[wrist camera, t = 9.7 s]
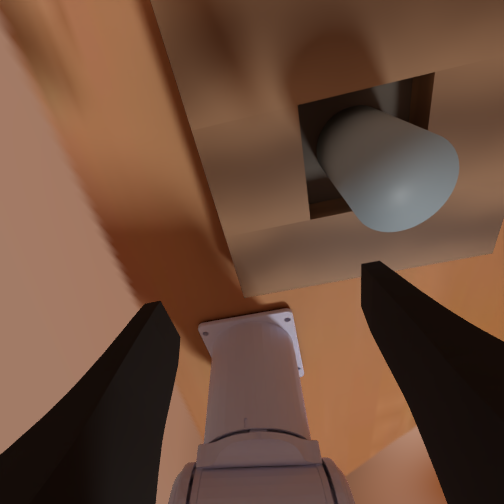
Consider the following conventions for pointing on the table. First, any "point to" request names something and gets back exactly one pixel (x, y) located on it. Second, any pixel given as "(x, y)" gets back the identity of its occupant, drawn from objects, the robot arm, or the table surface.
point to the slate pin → (387, 167)
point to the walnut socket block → (322, 110)
